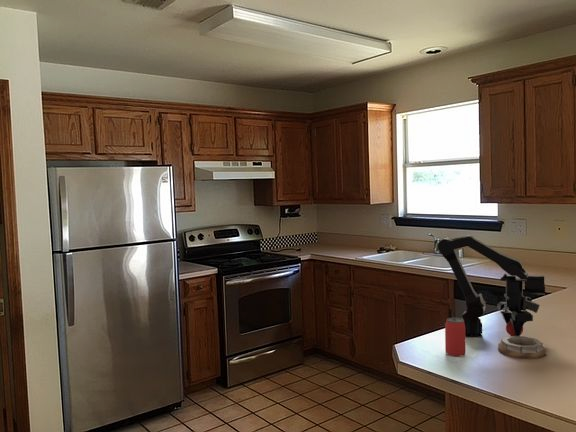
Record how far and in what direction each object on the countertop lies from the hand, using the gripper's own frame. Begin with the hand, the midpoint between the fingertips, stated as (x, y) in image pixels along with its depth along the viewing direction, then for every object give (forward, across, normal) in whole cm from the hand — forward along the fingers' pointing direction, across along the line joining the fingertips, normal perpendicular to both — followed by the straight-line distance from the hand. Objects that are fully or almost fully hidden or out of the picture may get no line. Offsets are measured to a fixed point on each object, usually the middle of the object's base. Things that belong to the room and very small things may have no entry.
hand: (514, 333), depth 183 cm
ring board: (+2, -14, +3) cm, 14 cm away
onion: (+2, 0, 0) cm, 2 cm away
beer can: (+2, -16, +26) cm, 31 cm away
